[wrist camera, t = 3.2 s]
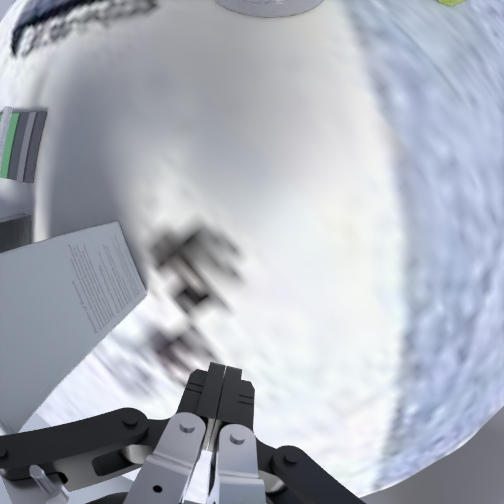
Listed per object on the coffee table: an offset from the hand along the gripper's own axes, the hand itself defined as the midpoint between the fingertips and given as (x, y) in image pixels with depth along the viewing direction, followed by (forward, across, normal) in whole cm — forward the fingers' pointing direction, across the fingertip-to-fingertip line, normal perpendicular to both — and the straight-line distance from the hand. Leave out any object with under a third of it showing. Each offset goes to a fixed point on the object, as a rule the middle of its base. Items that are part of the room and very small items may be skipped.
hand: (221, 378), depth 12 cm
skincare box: (+7, +11, 0) cm, 13 cm away
